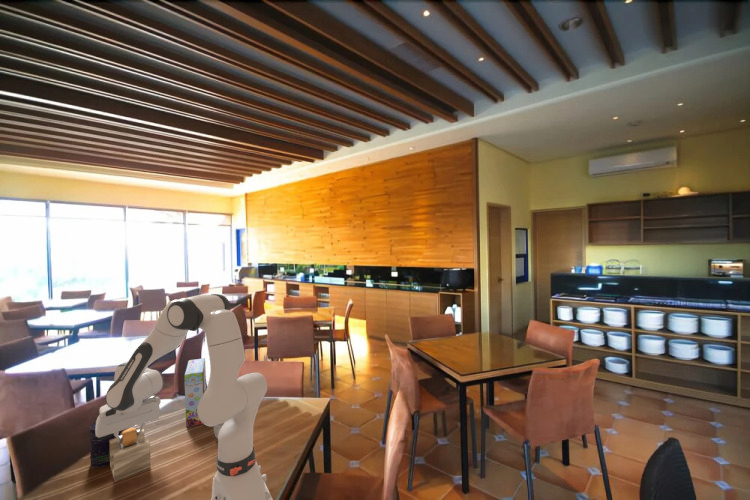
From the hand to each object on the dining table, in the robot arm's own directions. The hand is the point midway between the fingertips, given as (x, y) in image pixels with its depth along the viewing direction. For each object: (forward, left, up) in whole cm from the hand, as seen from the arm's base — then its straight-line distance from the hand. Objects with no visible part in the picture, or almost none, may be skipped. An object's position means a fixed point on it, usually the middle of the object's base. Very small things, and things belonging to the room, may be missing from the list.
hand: (129, 438), depth 127 cm
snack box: (+23, -30, -11) cm, 40 cm away
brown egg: (0, 0, -2) cm, 2 cm away
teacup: (-6, -35, -11) cm, 38 cm away
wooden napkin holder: (0, 0, -11) cm, 11 cm away
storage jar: (+12, +6, -11) cm, 17 cm away
